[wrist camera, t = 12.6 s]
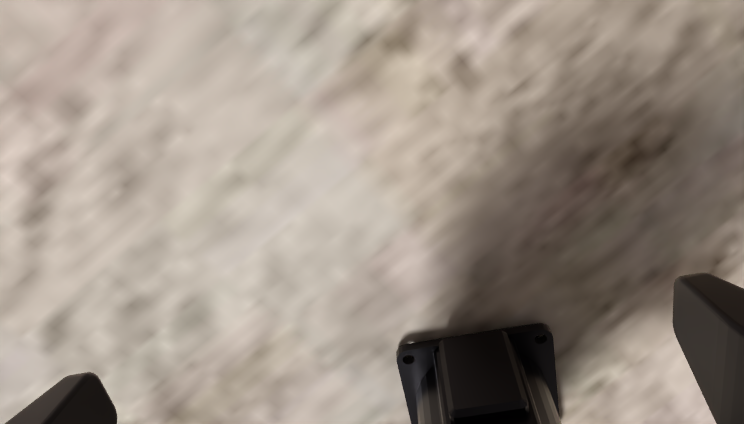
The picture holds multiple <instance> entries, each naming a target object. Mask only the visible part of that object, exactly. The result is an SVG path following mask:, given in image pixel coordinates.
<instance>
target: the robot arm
mask: <svg viewBox="0 0 744 424" xmlns="http://www.w3.org/2000/svg"><path fill="white" fill-rule="evenodd" d="M673 328H674V332H675V335H676V338H677V340H678V342H679V344H680V346H681V348H682V351H683V353H684V355H685V357H686V359H687V361H688V364H689V366H690V368H691V370H692V372H693V374H694V376H695V379H696V381H697V383H698V385H699V387H700V389H701V391H702V394H703V396H704V398H705V400H706V402H707V404H708V407H709V409H710V411H711V413H712V415H713V417H714V419H715V421H716V423H717V424H744V289H743V288H741V287H738V286H736V285H734V284H732V283H729V282H727V281H725V280H723V279H720V278H718V277H716V276H714V275H711V274H709V273H696V274H690V275H684V276H680V277H678V278H677V279H676V280H675V283H674V297H673ZM540 334H544V335H543V336H542V337H539V338H536V336H537V335H540ZM396 355H397V364H398V369H399V373H400V377H401V381H402V385H403V390H404V394H405V398H406V402H407V407H408V411H409V415H410V419H411V424H561V421H560V418H559V408H558V395H557V382H556V370H555V357H554V344H553V336H552V333H551V331H550V328H549V327H548V326H547V325H545V324H542V323H537V324H531V325H525V326H518V327H512V328H506V329H499V330H493V331H487V332H480V333H474V334H468V335H462V336H455V337H449V338H443V339H436V340H430V341H424V342H417V343H411V344H405V345H402V346H401V347H399V348H398V350H397V354H396ZM406 355H411V356H412V357H410V358H405V357H404V356H406ZM5 424H117V413H116V409H115V406H114V405H113V403H112V401H111V399H110V397H109V395H108V394H107V392H106V390H105V388H104V386H103V384H102V383H101V381H100V379H99V377H98V376H97V375H96V374H94V373H91V372H87V373H81V374H74V375H70V376H67V377H65V378H63V379H62V380H61V381H60V382H58V383H57V384H56V385H54V386H53V387H52V388H50V389H49V390H48V391H47V392H45V393H44V394H43V395H41V396H40V397H39V398H37V399H36V400H35V401H34V402H32V403H31V404H30V405H28V406H27V407H26V408H25V409H23V410H22V411H21V412H19V413H18V414H17V415H15V416H14V417H13V418H12V419H10V420H9V421H8V422H6V423H5Z"/></svg>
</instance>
